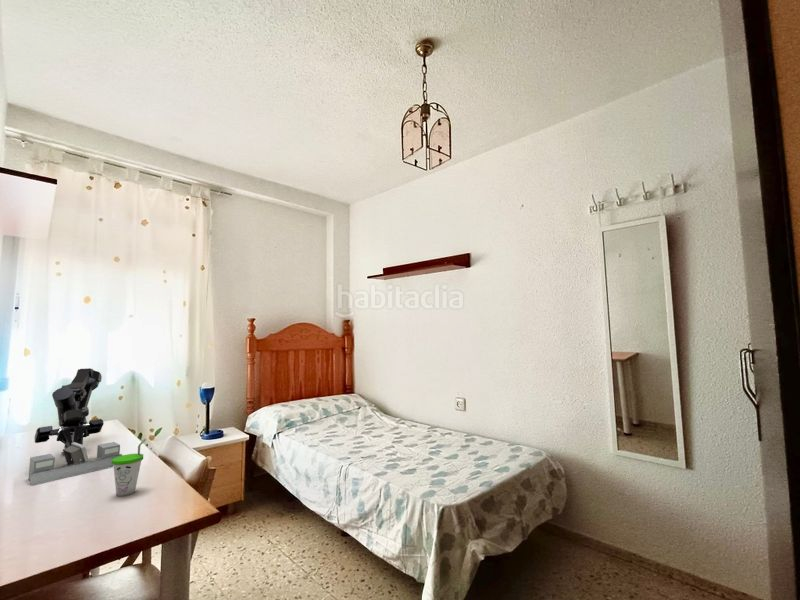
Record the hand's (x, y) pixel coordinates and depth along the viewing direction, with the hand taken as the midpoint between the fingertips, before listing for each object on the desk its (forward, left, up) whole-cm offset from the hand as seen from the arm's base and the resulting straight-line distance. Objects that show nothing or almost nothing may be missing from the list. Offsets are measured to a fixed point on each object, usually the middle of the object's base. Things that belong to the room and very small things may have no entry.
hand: (73, 449), depth 134 cm
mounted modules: (+6, 0, -7) cm, 9 cm away
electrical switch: (+5, +1, -7) cm, 8 cm away
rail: (+10, 0, -7) cm, 12 cm away
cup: (+44, +4, -7) cm, 44 cm away
